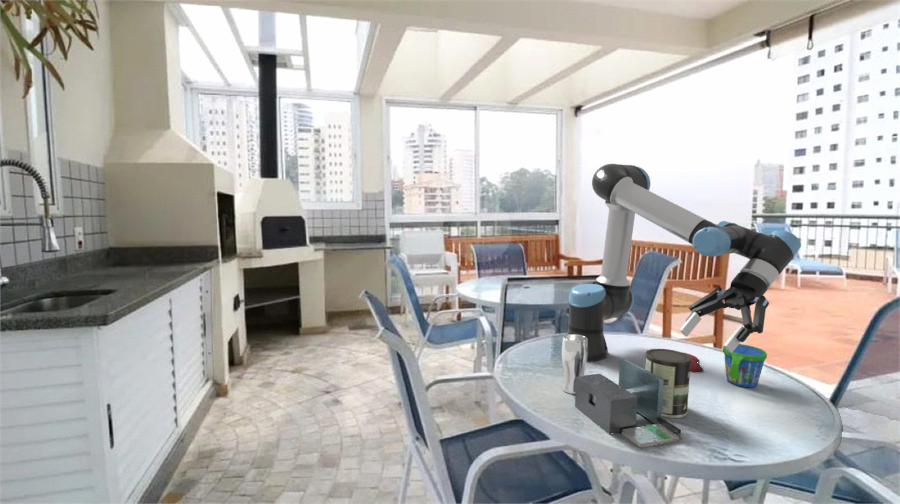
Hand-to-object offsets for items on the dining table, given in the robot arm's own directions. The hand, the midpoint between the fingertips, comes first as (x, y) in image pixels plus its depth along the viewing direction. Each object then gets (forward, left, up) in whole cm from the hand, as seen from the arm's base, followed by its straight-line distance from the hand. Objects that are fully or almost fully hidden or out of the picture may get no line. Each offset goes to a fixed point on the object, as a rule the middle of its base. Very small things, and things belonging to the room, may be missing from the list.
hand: (703, 340), depth 112 cm
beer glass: (-16, -27, -17) cm, 36 cm away
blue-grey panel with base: (+3, -25, -16) cm, 30 cm away
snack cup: (-7, +23, -17) cm, 29 cm away
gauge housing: (+3, -25, -17) cm, 31 cm away
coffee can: (0, -11, -17) cm, 20 cm away
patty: (-26, +18, -18) cm, 36 cm away
